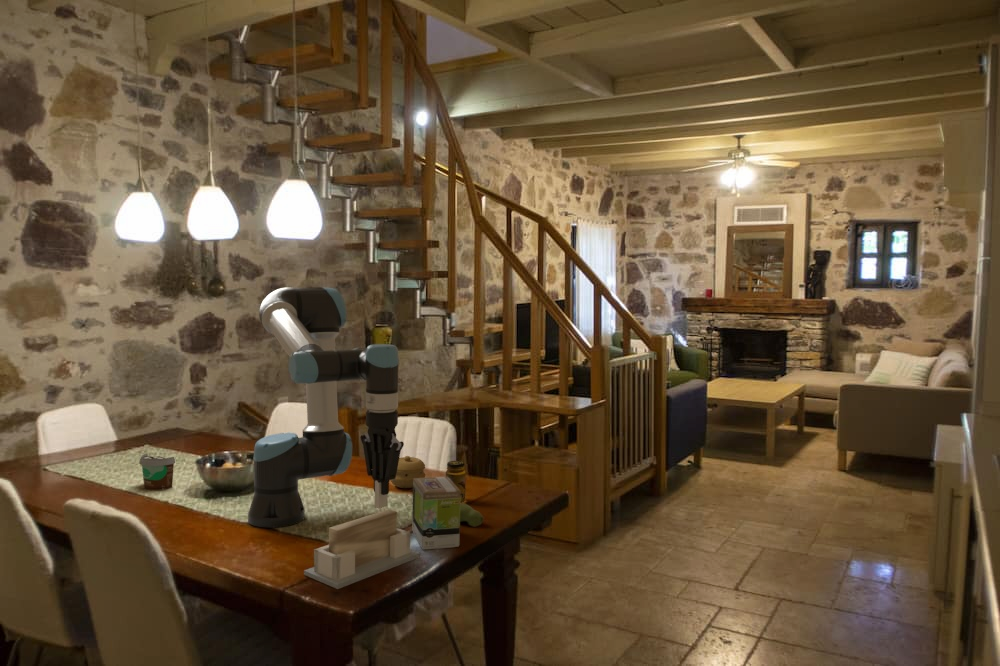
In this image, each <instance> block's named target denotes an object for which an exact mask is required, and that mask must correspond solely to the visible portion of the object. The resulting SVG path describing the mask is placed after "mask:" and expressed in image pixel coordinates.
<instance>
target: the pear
mask: <svg viewBox="0 0 1000 666" xmlns="http://www.w3.org/2000/svg"><path fill="white" fill-rule="evenodd" d="M484 520H485V519H484V515H482V514H481V512H479V510H475V509H474V508H473V507H472V506H470V505H469V504H467V503H460V523H463V522H466V523H467V524H468V525H469V526H470V527H473V528H475V527H479V526H480V525H482V524H483V522H484Z"/></svg>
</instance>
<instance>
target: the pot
mask: <svg viewBox="0 0 1000 666" xmlns="http://www.w3.org/2000/svg"><path fill="white" fill-rule="evenodd" d="M425 469H426V464H425V462H424V461H423V460H421V459H420V458H417V457H411V456H409V455H405V456H403V457H399V462H398V468H397V473H396V478H395V479H392V480H390V483H392V484H393V486H395V487H397V488H399V489H413V478H426V472H425V471H424V470H425Z"/></svg>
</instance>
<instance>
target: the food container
mask: <svg viewBox="0 0 1000 666" xmlns="http://www.w3.org/2000/svg"><path fill="white" fill-rule="evenodd" d="M138 463H139V465H140V466H141V470H142V478H143V479H142V480H143V487H144V489H145V490H149V491H159V490H160V491H162V490H167V489H172V488H173V482H174V481H173V478H174V465H175V464H176V460H175V456H171V457H166V458H165V457H163V456H152V455H151V456H150V455H149V454H148V453H144V454H142V455H141V456H140V458H139V462H138Z"/></svg>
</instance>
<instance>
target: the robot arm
mask: <svg viewBox="0 0 1000 666" xmlns="http://www.w3.org/2000/svg"><path fill="white" fill-rule="evenodd" d="M258 318H259V321H260V323H261V325H262V327H263V328H264V330H266V332H267V333H269V334H271V335H273V336H274V337H275V338H276V340H277V341H278V343H279V344H280V346H281V347H282V348H283V350H284V351H285V353H286V354H287V356H288V357H289V360H288V373H289V375H290V379H291V381H292V382H294V383H295V384H305V389H306V390H305V392H306V394H305V395H306V413H307V415H306V416H307V424H306V425H305V427H304V428H303V429H302V436H301V437H299V436H298V434H297V433H295V432H279V433H273V434H270V435H267V436H264V437H262V438H260V439H258V440H257V441H256V442H255V445H254V450H253V458H252V459H253V479H254V480H253V481H254V482H253V483H254V484H253V486H254V492H253V496H252V500H251V503H250V506H249V511H248V512H247V513H248V514H247V522H248V524H249V525H251V526H254V527H257V528H268V529H269V528H271V529H272V528H282V527H287V526H292V525H295V524H298V523H301V522H302V521H304V519H305V516H306V515H305V511H306V510H305V507H304V503H303V501H302V498H301V495H300V492H299V481H300V480H306V479H311V478H319V477H325V476H328V477H332V476H335V475H339V474H343V473H345V472H346V471H347V470H348V469H349V467H350V464H351V461H352V456H353V442H352V438H351V435H350V434H349V433H347V432H345V427H344V426H343V425H342V424H341V423H340V422H339V413H338V411H339V409H338V388H337V386H338V385H337V384H338V383H337V382H347V381H359V380H361V381H362V380H363V381H365V386H366V387H365V408H366V409H367V410H366V411H365V425H366V426H367V433H365V434H363V435H361V436H360V442H361V444H362V446H363V452H364V453H363V454H364V460H365V466H366V468H365V469H366V473H367V476H368V477H370V476H371V478H372V481H373V492H374V508H376V509H380V510H381V509H383V508H385V507H388V505H389V504H388V498H389V494H390V482H391V480H392V479H395V478H396V473H397V468H398V462H399V458H401V451H402V450H403V447H404V445H405V444H404V441H399V440H398V438H397V433H396V427H397V426H398V424H399V423H398V422H399V421H398V420H399V419H398V418H399V414H398V413H399V412H398V410H397V409H398V408H399V364H400V359H399V348H398V347H397V346H396V345H394V344H388V343H374V344H370V345H367V347H355V348H353V349H340V350H338V349H336V344H335V343H336V342H335V341H336V338H337V337H338V336H339V335H340V332H341V331H340V329H341V328H343V327H344V326H345V325H346V323H347V322H346V321H347V308H346V303H345V300H344V298H343V296H342V294H341V293H340V291H339V290H338V289H336V288H332V287H323V286H320V287H308V286H307V287H292V286H291V287H290V286H289V287H288V286H286V287H281V288H277V289H275V290H273V291H272V292H270V293H269V294H268V295H266V297H264V299H263V300H262V302H261V303H260V306H259V310H258Z"/></svg>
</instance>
